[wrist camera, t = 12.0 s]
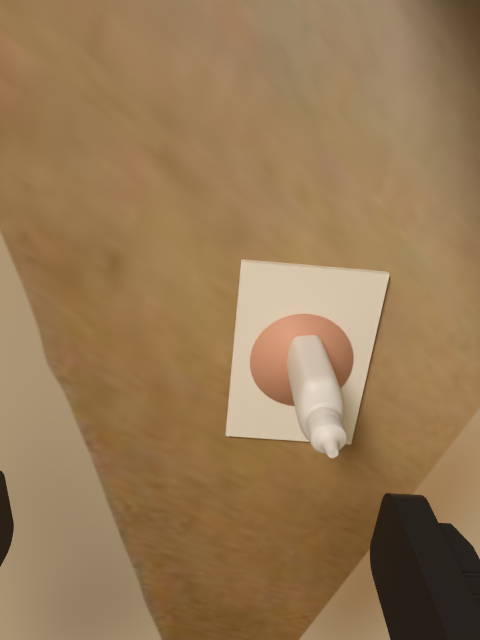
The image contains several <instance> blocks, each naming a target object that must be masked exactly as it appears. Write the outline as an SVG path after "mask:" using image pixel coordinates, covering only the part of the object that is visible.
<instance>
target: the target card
mask: <svg viewBox="0 0 480 640" xmlns="http://www.w3.org/2000/svg"><path fill="white" fill-rule="evenodd" d="M389 275H390V274H389V273H388V272H386V271H374V270H363V269H351V268H339V267H327V266H315V265H303V264H291V263H279V262H267V261H255V260H243V259H241V270H240V281H239V292H238V303H237V314H236V325H235V336H234V347H233V357H232V368H231V379H230V390H229V401H228V412H227V423H226V436H234V437H249V438H263V439H278V440H292V441H307V442H310V441H309V440H307V439H306V437H305V436H304V434H303V433H302V431H301V429H300V426H299V423H298V419H297V415H296V410H295V405H294V400H293V395H292V391H291V386H290V381H289V376H288V370H287V356H288V351H289V347H290V345H291V342H292V340H293V339H294V338H295V337H297V336H303V335H317V336H318V337H320V339H321V341H322V343H323V345H324V348H325V350H326V353H327V355H328V358H329V360H330V363H331V365H332V368H333V371H334V373H335V376H336V378H337V381H338V384H339V386H340V389H341V392H342V396H343V401H344V418H343V425H344V428H345V431H346V433H347V441H346V444H350V445H351V443H352V438H353V434H354V430H355V425H356V421H357V416H358V412H359V407H360V403H361V399H362V394H363V390H364V385H365V381H366V377H367V372H368V368H369V363H370V359H371V354H372V350H373V346H374V341H375V337H376V332H377V328H378V324H379V319H380V315H381V310H382V306H383V301H384V297H385V293H386V288H387V284H388V279H389Z"/></svg>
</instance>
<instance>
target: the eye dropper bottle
mask: <svg viewBox="0 0 480 640" xmlns="http://www.w3.org/2000/svg"><path fill="white" fill-rule="evenodd" d="M287 370H288V376H289V381H290V386H291V391H292V395H293V400H294V405H295V410H296V415H297V419H298V423H299V426H300V429H301V431H302V433H303V434H304V436H305V437H306V439H307V440H309V441H310V442H311V445H312V447H313V448H314V449H315V450H317V451H318V452H321V453H325V454H327V455H328V456H329V457H330V458H335V457H337V456H338V451H339V450H340V449H341V448H343V446H344V445H345V444H346V441H347V433H346V431H345V428H344V425H343V418H344V401H343V396H342V392H341V389H340V386H339V384H338V381H337V378H336V376H335V373H334V371H333V368H332V365H331V363H330V360H329V358H328V355H327V353H326V350H325V348H324V345H323V343H322V341H321V339H320V337H318V336H317V335H303V336H297V337H295V338H294V339H293V340H292V342H291V345H290V347H289V351H288V356H287Z"/></svg>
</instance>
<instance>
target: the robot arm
mask: <svg viewBox="0 0 480 640" xmlns="http://www.w3.org/2000/svg"><path fill="white" fill-rule="evenodd" d="M13 528H14V524H13V518H12V513H11V507H10V503H9V496H8V491H7V486H6V481H5V477H4V474H3V473H2V471H0V566H1V564H2V563H3V561H4V559H5V557H6V555H7V553H8V550H9V547H10V545H11V541H12V537H13ZM370 563H371V570H372V575H373V579H374V582H375V586H376V590H377V593H378V596H379V600H380V604H381V607H382V611H383V614H384V618H385V621H386V625H387V628H388V632H389V635H390V639H391V640H480V559H479V557H478V555H477V553H476V552H475V550H474V548H473V546H472V545H471V544H470V543H469V542H468V541H467V540H466V539H465V538H464V537H463V536H462V535H461V534H460V533H459V531H458V530H457V529H456V528H455V527H454V526H453V525H452V524H447V523H438V521H437V519H436V517H435V515H434V513H433V511H432V509H431V507H430V505H429V503H428V501H427V499H426V498H425V497H424V496H422V495H410V494H392V493H386V494H385V495H384V497H383V499H382V503H381V507H380V510H379V514H378V518H377V522H376V525H375V529H374V533H373V537H372V540H371V546H370Z"/></svg>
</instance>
